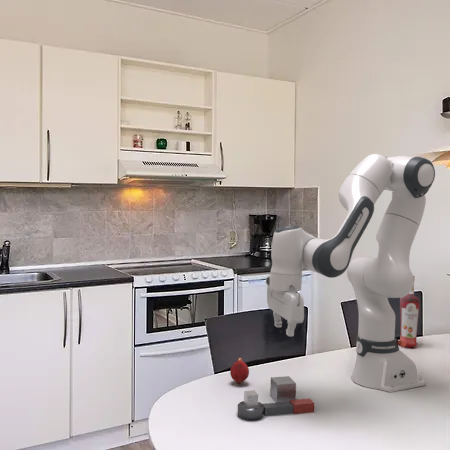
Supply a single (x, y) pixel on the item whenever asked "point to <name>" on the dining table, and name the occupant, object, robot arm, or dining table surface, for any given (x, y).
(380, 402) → the dining table surface
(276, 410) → the ratchet
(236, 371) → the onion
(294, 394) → the gray cube
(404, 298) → the liquor
